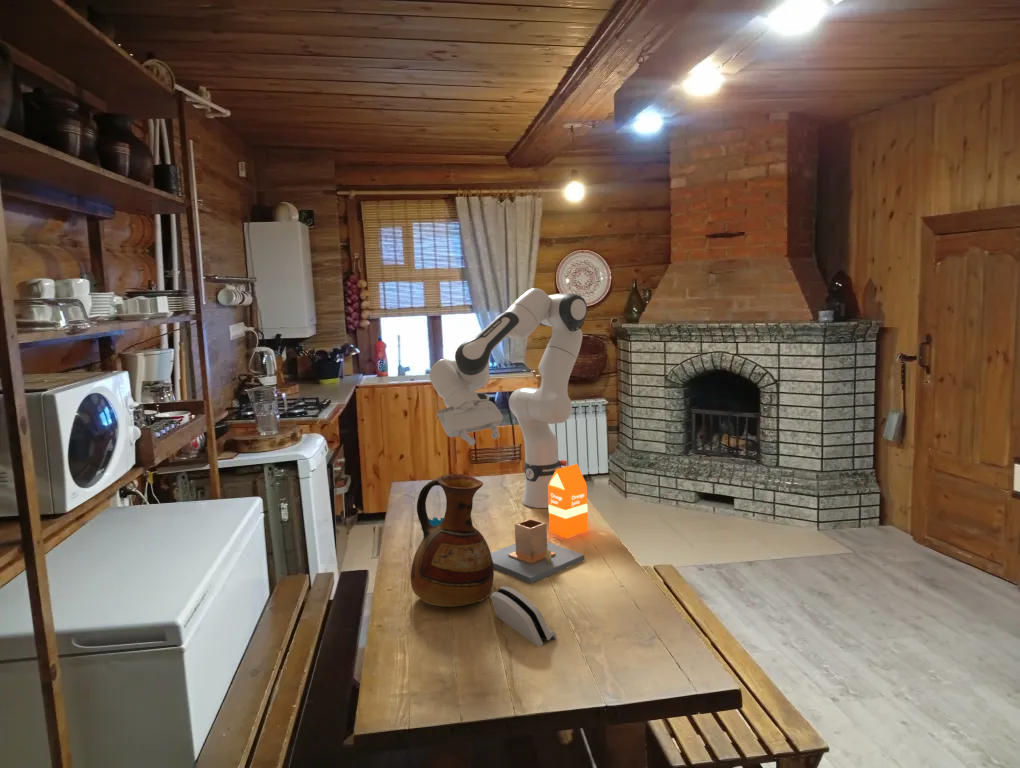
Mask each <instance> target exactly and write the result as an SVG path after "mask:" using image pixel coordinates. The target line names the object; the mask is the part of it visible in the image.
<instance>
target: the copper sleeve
mask: <svg viewBox="0 0 1020 768" xmlns="http://www.w3.org/2000/svg"><path fill="white" fill-rule="evenodd" d="M514 536H515V538H514V539H515V541H514V542H515V543H516V551H515V552H513V553H510V554H508V556H509V557H511V558H514V559H516V560H519V561H522V562H524V563H527V564H529V565H533V564H536V563H538V562H541V561H543V560H545V559H546V551H547V542H548V530H547V522H543V521H541V520H537V519H533V518H528V519H526V520H522V521H519V522H517V523H515V524H514ZM555 555H556V553H554V552H551V557H553V556H555Z"/></svg>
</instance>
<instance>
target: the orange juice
mask: <svg viewBox="0 0 1020 768" xmlns="http://www.w3.org/2000/svg"><path fill="white" fill-rule="evenodd" d="M587 489H588V488H587V483H586V480H585V478H584V475H583V473H582V472H581V470H580V467H579V465H578V463H576V464H571V465H567V466H562V468H559V469H556V471H555V473H554V475H553V477H552V479H551V481H550V483H549V485H548V500H549V508H548V518H549V521H548V522H549V523H548V524H549V532H550V533H551V532H552V533H551V534H554V533H555V534H554V535H556V534H557V536H559V535H560V536H559V537H561V538H564V537H565V538H564V539H569V538H571V536H572V537H574V536H573V535H575V536H577V535H576V534H578V535H581V534H583V532H584V533H586V532H585V531H587V532H588V531H589V523H588V522H589V521H588V517H589V516H588V511H589V509H588V490H587ZM580 533H581V534H580ZM568 537H569V538H568Z"/></svg>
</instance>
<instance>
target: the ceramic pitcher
mask: <svg viewBox="0 0 1020 768" xmlns="http://www.w3.org/2000/svg"><path fill="white" fill-rule="evenodd" d="M483 485H484V482H483V481H481V480H479V479H477V478H476V477H474V476H472V475H467V474H462V473H449V474H444V475H441V476H439V477H438V478H435V479H432V480H431V481H429V482H428V483H426V484H425V485H424V486H423V487H422V488H421V490H420V492H419V495H418V497H417V502H416V512H417V519H418V520H419V523H420V526H421V527H422V530H421V531H422V533H423V539H422V541H421V542H420V544H419V545H418V547H417V549H416V551H415V553H414V556H413V559H412V565H411V570H410V585H411V589H412V591H413V593H414V594H415V595H416V597H417V598H419V599H420V600H422V602H424V603H426V604H428V605H430V606H431V605H432V606H438V607H460V606H467V605H470V604H475V603H477V602H480V601H481V602H482V600H485V599H486V598H488V597H489V596H491V594H492V589H493V585H494V577H495V572H494V571H495V569H494V567H493V560H492V557H491V553H492V552H491V551H490V547H489V544H488V542H487V541H486V539H485V537H484V536H483V534H482V533H481V532H480V530H478V529H477V528H475V526H474V524H473V520H472V511H473V503H474V496H475V494H476V492H477V491H478V490H480V488H482V487H483ZM434 486H439V487H441V489H442V490H443V491H444V495H445V501H446V504H445V505H446V506H445V511H444V512H445V513H444V517H443V518H444V519H443V521H442V523H441V524H439V525H437V526H432V525H431V524H430V521H429V519H430V518H429V516H428V513H427V504H426V503H427V498H428V495H429V492H430V491H431V489H432V488H433V487H434Z"/></svg>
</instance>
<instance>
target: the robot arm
mask: <svg viewBox="0 0 1020 768" xmlns="http://www.w3.org/2000/svg"><path fill="white" fill-rule="evenodd" d="M587 314H588V305H587V302H586V300H585V298H584V297H582V296H581V295H579V294H575V293H555V294H547V293H546V292H545V291H544V290H543V289H542V288H541V289H540V288H538V287H533V288H530V289H528V290H526V291H525V292H524V293H522V294H520V296H519V297H518V298H517V299H515V300H514V302H513V303H512V304H511V305H510V306H508V308H507V309H506V310H505V311H504V312H502V313H501V314H500V315H498V316H497V317H495V319H494V320H492V321H491V322H490V323H489V324H488V325H487V326H486V327H485V328H484V329H482V330H481V332H479V333H478V334H477V335H475V336H474V337H472V338H471V339H469V340H466V341H465V342H463V343H461V344H460V345H459V346H458V348H457V349H456V350H455V355H454V359H452V360H450V359H447V358H442V359H439V360H437V361H436V362H435V363H434V364H433V365H432V366H431V368H430V370H429V380H430V382H431V384H432V386H433V388H434V390H435V392H436V393H437V395H438V397H440V398H442V401H443V403H444V406H445V407H446V408H442V409H439V410H438V411H437V413H436V415H437V418H438V419H439V421H440V424H441V426H442V428H443V430H444V433H445V434H446V436H447V437H449V438H455V437H458V436H459V437H460V438H461V439H462V440H464V441H465V442H467V444H468V445H469V446H474V445H475V444H476V442H477V441H476V439H475V438H474V436H472V437H471V436H470V435H469V434H471V433H475V432H478V431H483V430H487V429H490V431H492V433H491V437H492V438H493V440H497V439H499V438H500V436H501V434H500V433H499V430H498V426H499V425H501V424H502V421H503V420H504V418H503V417H504V416H503V414H502V413H501V411H500V409H498V406H496V404H495V403H493V401H491V400H490V396H489V395H488V393H481V392H476V391H479V390H481V389H483V388H484V387H485V386H487V384H488V382H489V381H490V362H489V361H490V356H491V354H492V352H493V350H494V349H495V348H496V347H497V346H498V345H499V344H500V343H501V342H502V341H503V340H504V339H506V338H507V337H508V338H509V339H512V340H514V341H522V340H525V339H526V338H527V337H529V336H530V335H531V334H533V332H534V331H535V330H536V329H537V327H538V326H542V327H551V329H552V331H551V332H552V333H551V337H550V339H549V341H548V343H547V346H545V350H544V352H543V354H542V357H541V359H540V362H539V364H538V366H537V367H538V373H539V375H540V376H541V381H540V382H541V384H540V386H539V387H538V388H536V387H522V388H517V389H515V390H514V391H512V392H511V394H510V396H509V400H508V406H509V409H510V412H511V413H512V414H513V415H514V416H515V418H516V420H517V422H518V424H519V428H520V430H521V433H522V437H523V443H524V455H525V461H524V465H523V466H524V474H525V475H524V476H525V477H524V478H525V479H524V480H525V481H524V490H523V492H524V493H523V494H522V495H523V496H522V497H523V499H522V503H523V505H525V506H527V507H531V508H537V509H538V508H539V509H542V508H543V509H546V508H548V509H549V500H548V485H549V483H550V481H551V479H552V477H553V475H554V473H555V471H556V469H559V468H563V467H567V466H568V461H567V460H564V459H561V460H559V453H558V451H559V450H558V449H559V447H558V438H557V435H555V434H554V432H553V431H552V429H551V428H550V426H549V425H553V424H557V425H558V424H562V423H565V422H566V421H567V420H568V419H569V418H570V416H571V414H572V412H573V411H572V410H573V405H572V404H573V403H572V400H571V399H570V397H569V394H568V388H569V387H568V386H569V380H570V377H571V374H572V371H573V369H574V366H575V364H576V361H577V359H578V357H579V353H580V351H581V350H580V349H581V346H582V343H583V331H582V329H581V328H582V327H583V325H584V324H585V320H586V318H587Z"/></svg>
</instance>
